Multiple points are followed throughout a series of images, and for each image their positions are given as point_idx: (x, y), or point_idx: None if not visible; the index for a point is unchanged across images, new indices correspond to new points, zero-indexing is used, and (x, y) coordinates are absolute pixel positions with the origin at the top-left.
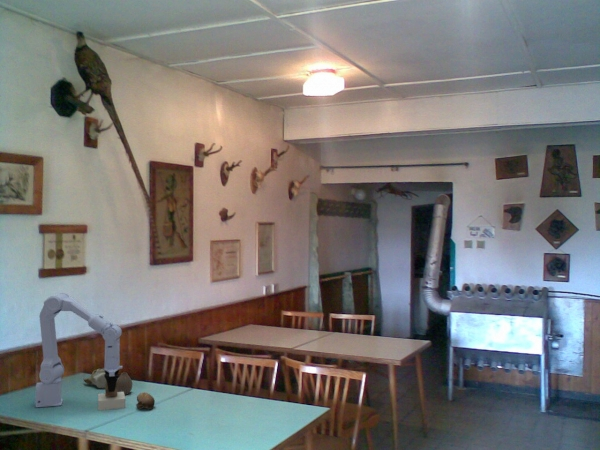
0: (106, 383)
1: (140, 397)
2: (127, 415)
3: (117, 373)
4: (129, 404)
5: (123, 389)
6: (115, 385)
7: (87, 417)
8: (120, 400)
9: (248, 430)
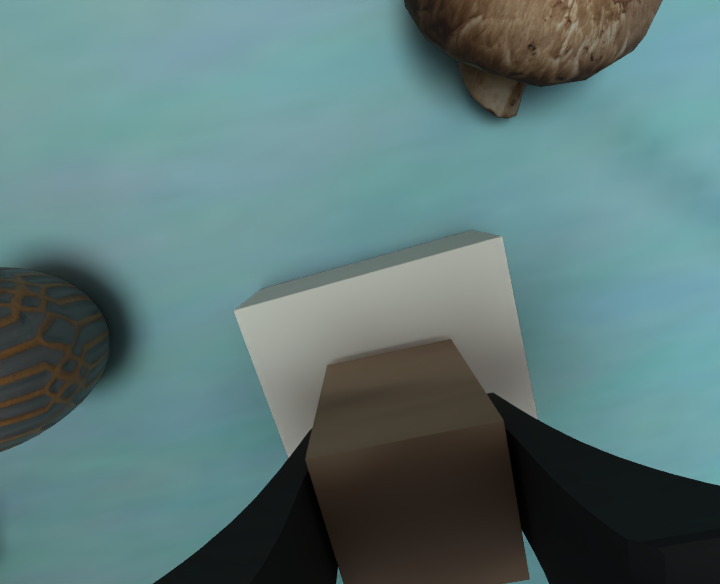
0: (500, 573)
1: (635, 6)
2: (688, 164)
3: (264, 576)
4: (376, 212)
5: (90, 338)
6: (543, 424)
7: (666, 458)
8: (505, 283)
9: None
